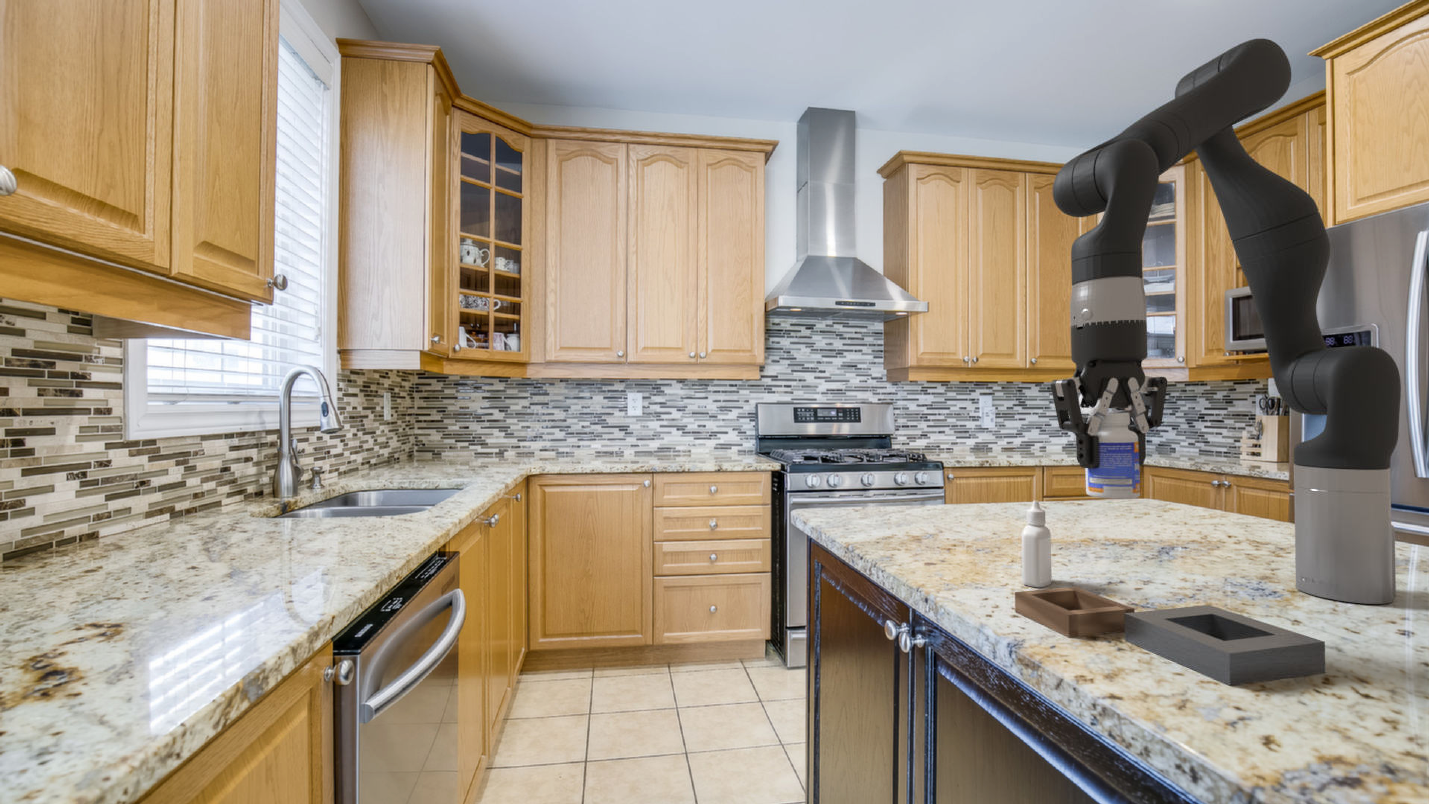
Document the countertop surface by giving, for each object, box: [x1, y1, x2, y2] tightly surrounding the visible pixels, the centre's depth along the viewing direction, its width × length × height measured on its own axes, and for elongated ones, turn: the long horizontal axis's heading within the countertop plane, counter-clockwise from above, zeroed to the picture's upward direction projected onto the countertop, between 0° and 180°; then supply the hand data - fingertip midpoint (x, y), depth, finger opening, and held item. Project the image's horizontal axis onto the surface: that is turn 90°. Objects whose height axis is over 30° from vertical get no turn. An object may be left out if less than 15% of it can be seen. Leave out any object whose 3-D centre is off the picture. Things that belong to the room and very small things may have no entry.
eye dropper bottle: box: [1021, 500, 1053, 588], centre depth 92 cm, size 4×6×12 cm
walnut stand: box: [1014, 586, 1136, 638], centre depth 76 cm, size 9×9×2 cm
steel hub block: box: [1124, 604, 1326, 686], centre depth 65 cm, size 12×12×3 cm
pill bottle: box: [1084, 411, 1141, 500], centre depth 73 cm, size 5×5×10 cm
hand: (1111, 466), depth 73 cm, fingers closed on pill bottle, 5 cm apart
